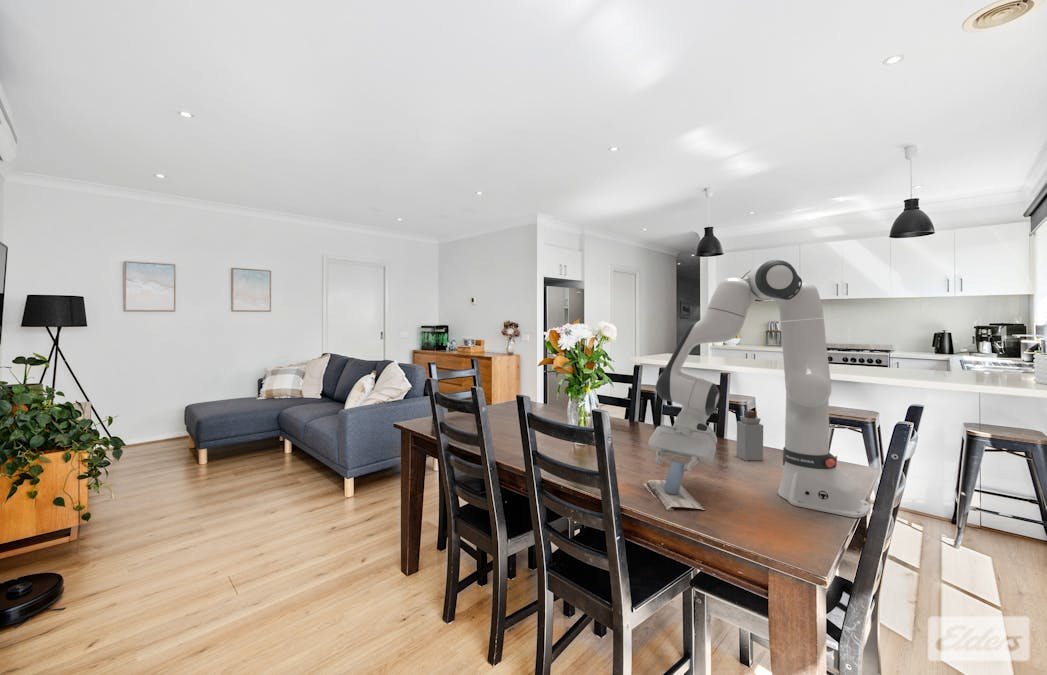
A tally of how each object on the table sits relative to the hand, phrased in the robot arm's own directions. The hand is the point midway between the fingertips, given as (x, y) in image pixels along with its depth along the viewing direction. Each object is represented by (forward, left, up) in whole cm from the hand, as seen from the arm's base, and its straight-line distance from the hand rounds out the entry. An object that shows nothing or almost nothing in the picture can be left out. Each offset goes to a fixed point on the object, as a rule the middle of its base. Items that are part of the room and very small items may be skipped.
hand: (671, 466), depth 138 cm
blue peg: (0, 0, -7) cm, 7 cm away
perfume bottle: (-1, -56, -9) cm, 57 cm away
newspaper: (0, 0, -10) cm, 10 cm away
